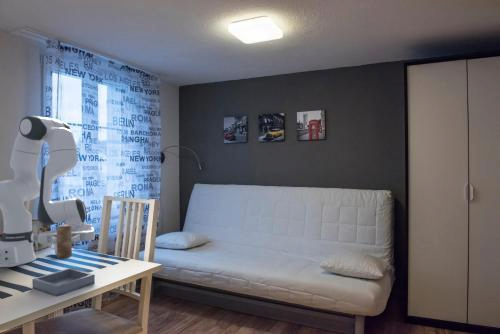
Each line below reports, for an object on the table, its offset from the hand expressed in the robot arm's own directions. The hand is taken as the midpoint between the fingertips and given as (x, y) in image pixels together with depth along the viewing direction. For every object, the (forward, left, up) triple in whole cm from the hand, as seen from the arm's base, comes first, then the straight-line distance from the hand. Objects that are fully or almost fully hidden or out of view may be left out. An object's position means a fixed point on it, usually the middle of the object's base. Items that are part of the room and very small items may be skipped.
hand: (63, 240), depth 134 cm
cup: (-11, +49, -18) cm, 53 cm away
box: (0, +1, -18) cm, 18 cm away
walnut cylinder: (0, +1, -7) cm, 7 cm away
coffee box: (-24, +65, -18) cm, 72 cm away
